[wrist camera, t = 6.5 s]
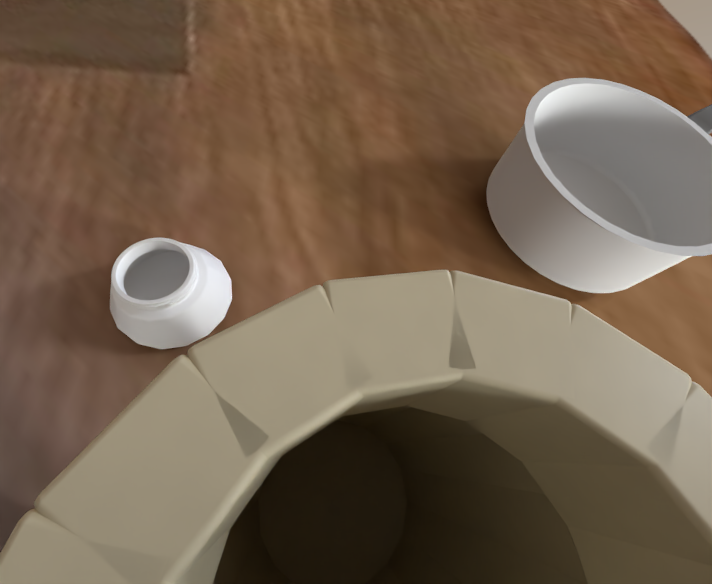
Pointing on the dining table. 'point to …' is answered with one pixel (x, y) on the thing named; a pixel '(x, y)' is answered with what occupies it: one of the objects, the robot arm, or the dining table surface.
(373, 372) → the beige cylindrical vase
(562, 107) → the saucepan
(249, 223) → the dining table surface
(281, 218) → the dining table surface
